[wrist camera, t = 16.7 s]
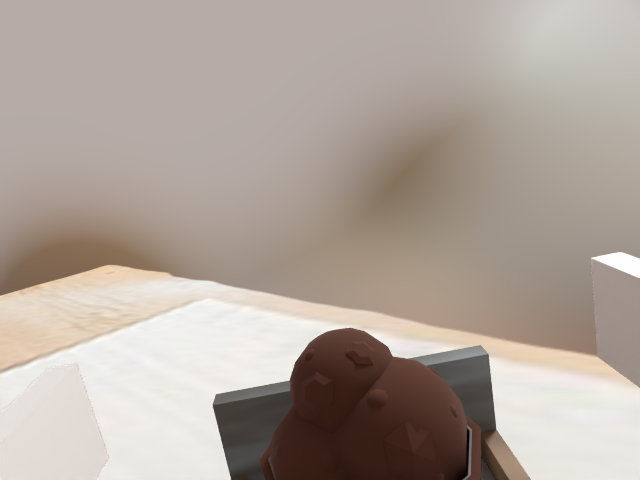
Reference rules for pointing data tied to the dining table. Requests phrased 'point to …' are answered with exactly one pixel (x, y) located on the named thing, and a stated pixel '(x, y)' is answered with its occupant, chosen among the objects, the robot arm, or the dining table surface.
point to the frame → (275, 401)
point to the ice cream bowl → (370, 418)
